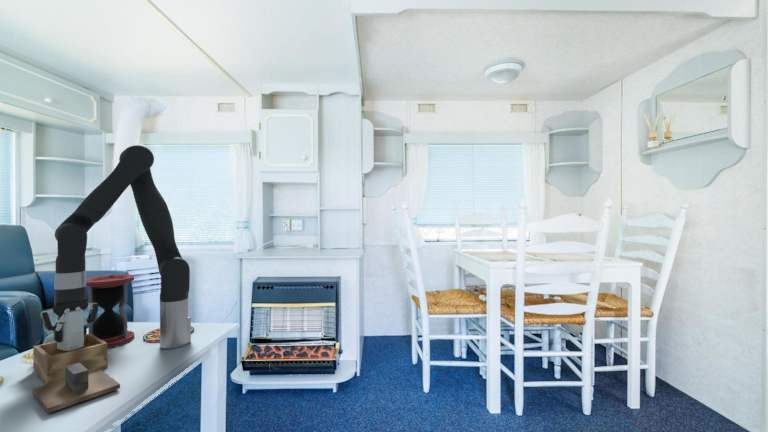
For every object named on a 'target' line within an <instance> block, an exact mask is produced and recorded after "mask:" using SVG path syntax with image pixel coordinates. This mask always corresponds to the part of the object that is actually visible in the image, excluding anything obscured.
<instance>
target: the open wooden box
mask: <svg viewBox="0 0 768 432" xmlns="http://www.w3.org/2000/svg"><path fill="white" fill-rule="evenodd" d="M32 350H33V354H32V355H33V369H32V370H33V373H34V374H35V375H36V376H37V377H38V379H40V380H41V381H42V382H43V383H44V385H46V384H50V383H53V382H56V381H60V380H63V379H65V367H66V366H69V365H73V364H77V363H80V364H82V365H83V366H84V367H85V368H87V369H88V372H90V371H94V370H97V369H101V370H102V371H103V370H105V369H107V368H109V367H108V363H109V362H108V358H109V357H108V348H107V343H106V342H105V341H103V340H101V339H99V338H98V337H96V336H94V335H92V334H91V333H90V334H89V333H86V335H84V346H83V347H81V348H77V349H74V350H71V351H65V350H60V349H57V341H55V342H50V343H46V344H43V343H42V344H38V345H34V346H33V348H32Z"/></svg>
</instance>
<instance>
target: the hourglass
mask: <svg viewBox="0 0 768 432" xmlns="http://www.w3.org/2000/svg"><path fill="white" fill-rule="evenodd" d="M86 279H87V284H86V287H87V288H88V294H87V295H88V296H87V297H88V300H87V302H88V303H97V304H99V306H98V307H99V308H101V309H102V310H104V311H103V312H102V313H101V314H100V315H99V316H98V313H99V312H98V311H99V309H98V310H97V313H96V316H95V320H94V321H93V322H90V323H88V334H90V333H91V334H92V335H94V336H96V337H98V338H99V339H101V340H103V341H105V342H106V343H107V349H109V348H110V349H111V348H115V347H118V346H122V345H124V344H127V343H129V342H131V341H133V340H134V339H135V333H134V331H132V330H128V318H127V311H126V310H125V306H126V305H127V302H128V283H130V282H133V281H135V275H134V274H127V273H124V274H107V275H98V276H92V277H86ZM117 305H118V309H119V310H118V312H119V313H118V312H116V311H115V310H113V309H114V308H115V307H116V306H117Z"/></svg>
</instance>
